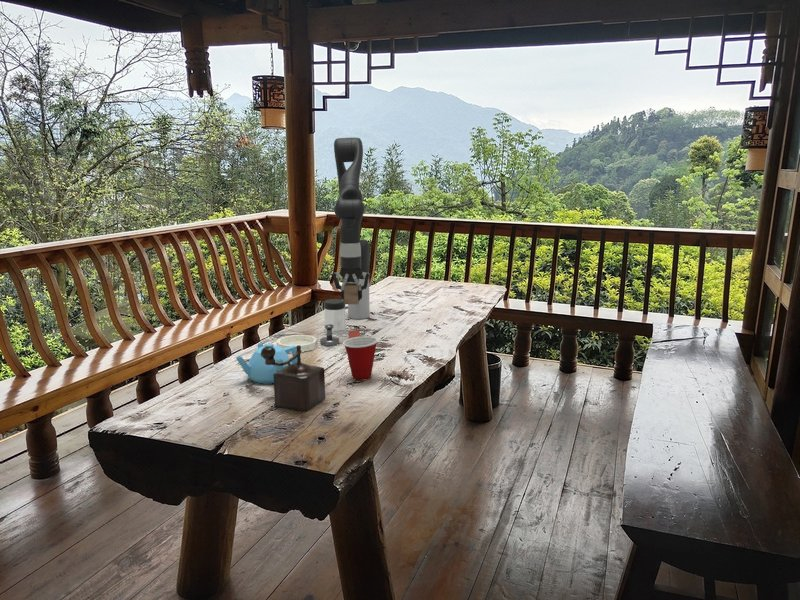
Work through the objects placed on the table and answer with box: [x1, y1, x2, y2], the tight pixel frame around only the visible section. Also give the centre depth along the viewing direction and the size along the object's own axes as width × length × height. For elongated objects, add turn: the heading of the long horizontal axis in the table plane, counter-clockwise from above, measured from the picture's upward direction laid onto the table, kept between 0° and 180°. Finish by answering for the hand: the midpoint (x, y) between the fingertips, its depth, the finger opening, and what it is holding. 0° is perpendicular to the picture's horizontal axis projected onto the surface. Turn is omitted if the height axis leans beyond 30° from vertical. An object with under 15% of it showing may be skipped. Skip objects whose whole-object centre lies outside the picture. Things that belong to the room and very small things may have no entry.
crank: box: [332, 329, 361, 339], centre depth 219 cm, size 10×2×4 cm, turn 98°
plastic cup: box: [342, 335, 379, 381], centre depth 183 cm, size 11×11×12 cm
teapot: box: [235, 342, 297, 385], centre depth 183 cm, size 15×15×11 cm
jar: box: [323, 298, 346, 334], centre depth 234 cm, size 9×8×12 cm
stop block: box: [344, 283, 359, 305], centre depth 221 cm, size 5×5×7 cm
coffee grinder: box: [261, 345, 326, 413], centre depth 161 cm, size 16×11×18 cm
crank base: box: [319, 324, 340, 347], centre depth 218 cm, size 7×7×7 cm
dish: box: [276, 334, 318, 354], centre depth 214 cm, size 14×14×3 cm
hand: (351, 299), depth 222 cm, fingers closed on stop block, 5 cm apart
